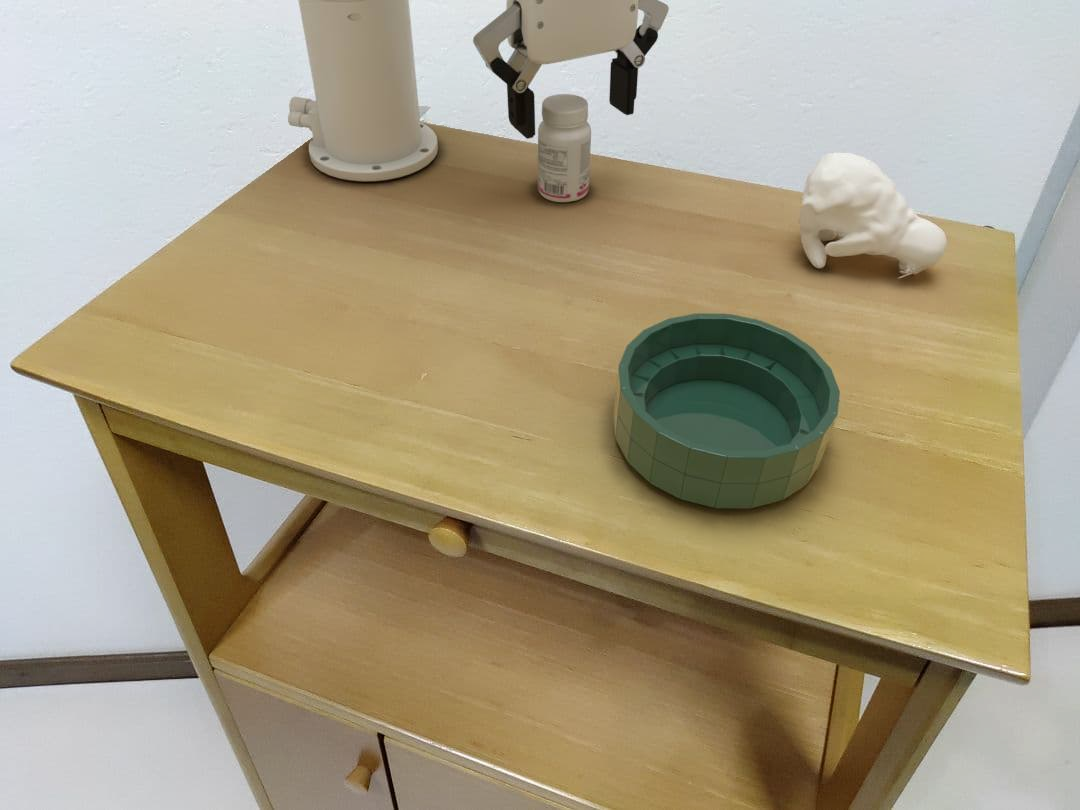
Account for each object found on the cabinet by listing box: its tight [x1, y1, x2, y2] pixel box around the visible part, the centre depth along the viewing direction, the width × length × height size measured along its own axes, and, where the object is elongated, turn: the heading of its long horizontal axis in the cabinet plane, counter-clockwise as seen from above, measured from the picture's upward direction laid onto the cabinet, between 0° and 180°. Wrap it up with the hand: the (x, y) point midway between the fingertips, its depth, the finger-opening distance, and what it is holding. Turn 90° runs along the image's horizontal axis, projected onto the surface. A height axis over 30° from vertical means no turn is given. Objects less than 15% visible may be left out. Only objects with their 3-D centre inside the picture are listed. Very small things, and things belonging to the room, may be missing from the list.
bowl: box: [612, 312, 841, 510], centre depth 52 cm, size 13×13×5 cm
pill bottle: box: [537, 93, 592, 203], centre depth 74 cm, size 5×5×8 cm
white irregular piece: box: [797, 152, 947, 279], centre depth 66 cm, size 6×8×12 cm
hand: (573, 120), depth 72 cm, fingers open, 9 cm apart
